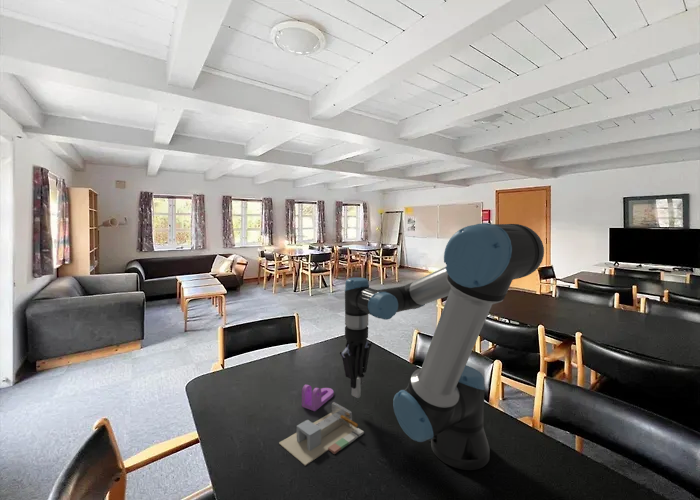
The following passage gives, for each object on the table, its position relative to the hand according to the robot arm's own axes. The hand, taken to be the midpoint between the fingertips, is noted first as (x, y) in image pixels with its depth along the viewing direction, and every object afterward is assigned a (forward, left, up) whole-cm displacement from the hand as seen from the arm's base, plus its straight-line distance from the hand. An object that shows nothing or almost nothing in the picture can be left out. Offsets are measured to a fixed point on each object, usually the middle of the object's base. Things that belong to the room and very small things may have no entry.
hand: (356, 395), depth 105 cm
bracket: (+15, +3, -6) cm, 16 cm away
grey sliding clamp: (-2, +13, -5) cm, 15 cm away
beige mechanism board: (-2, +16, -6) cm, 17 cm away
